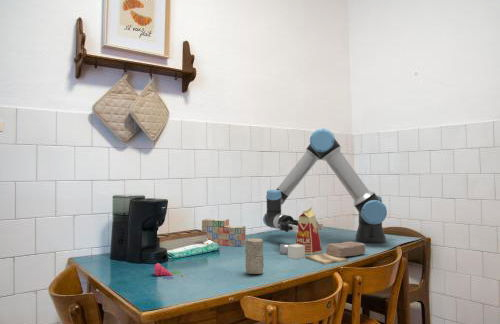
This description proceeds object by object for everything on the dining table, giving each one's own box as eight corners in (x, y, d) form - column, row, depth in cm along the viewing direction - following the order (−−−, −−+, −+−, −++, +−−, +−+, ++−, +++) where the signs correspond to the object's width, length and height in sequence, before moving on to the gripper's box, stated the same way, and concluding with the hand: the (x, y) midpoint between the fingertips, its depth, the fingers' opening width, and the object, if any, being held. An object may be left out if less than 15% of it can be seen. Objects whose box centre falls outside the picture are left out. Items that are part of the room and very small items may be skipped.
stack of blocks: (245, 244, 186) (245, 219, 186) (240, 247, 180) (240, 221, 181) (207, 242, 194) (207, 218, 194) (201, 244, 188) (201, 219, 189)
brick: (340, 257, 153) (340, 245, 153) (324, 253, 159) (325, 242, 160) (365, 254, 162) (366, 243, 162) (350, 251, 169) (350, 240, 169)
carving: (265, 271, 135) (265, 237, 136) (261, 277, 128) (261, 241, 128) (248, 270, 137) (248, 237, 137) (243, 275, 129) (243, 240, 130)
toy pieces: (153, 282, 123) (153, 268, 123) (153, 273, 134) (153, 261, 134) (190, 279, 126) (190, 266, 126) (187, 271, 137) (187, 259, 137)
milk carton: (305, 249, 174) (305, 206, 175) (322, 252, 168) (322, 207, 168) (293, 252, 168) (293, 207, 168) (310, 255, 161) (309, 208, 162)
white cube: (296, 255, 161) (296, 244, 161) (304, 257, 157) (304, 245, 157) (287, 257, 158) (287, 245, 158) (296, 259, 154) (296, 247, 154)
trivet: (328, 255, 162) (328, 253, 162) (347, 260, 151) (347, 258, 151) (305, 258, 156) (305, 256, 156) (324, 264, 145) (323, 262, 145)
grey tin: (287, 252, 168) (287, 243, 168) (293, 254, 163) (293, 245, 164) (277, 253, 166) (277, 244, 166) (284, 255, 161) (284, 246, 161)
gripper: (305, 228, 191) (332, 234, 172) (262, 232, 179) (286, 239, 160) (304, 213, 191) (332, 217, 172) (262, 216, 179) (286, 221, 160)
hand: (310, 228), depth 166 cm, fingers open, 13 cm apart
